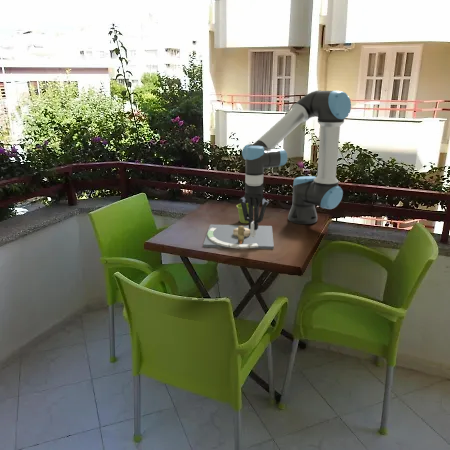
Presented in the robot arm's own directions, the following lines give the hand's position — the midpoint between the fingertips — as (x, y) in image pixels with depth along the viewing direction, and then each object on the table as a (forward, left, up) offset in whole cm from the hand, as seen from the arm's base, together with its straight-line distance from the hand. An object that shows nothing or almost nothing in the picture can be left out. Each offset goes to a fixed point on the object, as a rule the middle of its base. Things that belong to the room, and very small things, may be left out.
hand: (253, 236), depth 170 cm
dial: (+5, -6, -3) cm, 9 cm away
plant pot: (+4, -33, -5) cm, 34 cm away
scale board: (+6, -9, -5) cm, 12 cm away
